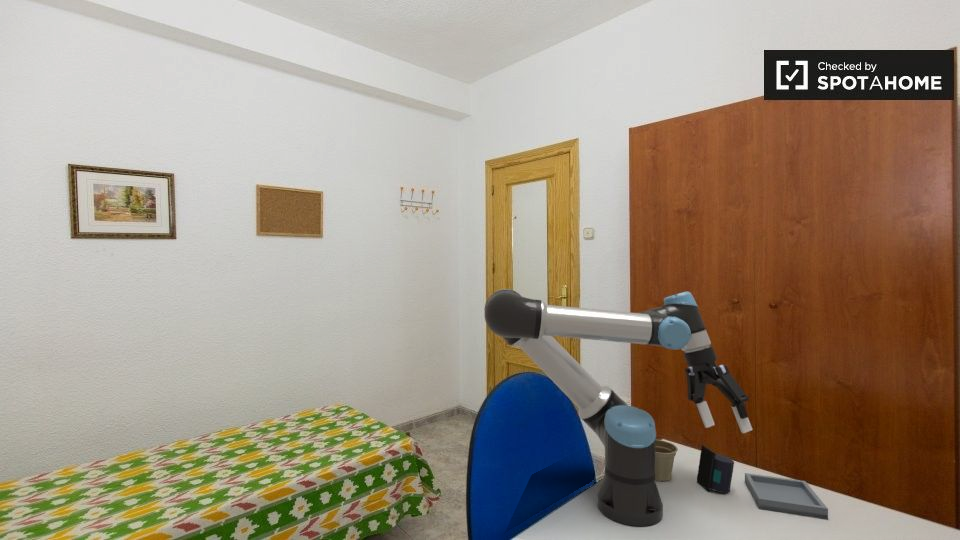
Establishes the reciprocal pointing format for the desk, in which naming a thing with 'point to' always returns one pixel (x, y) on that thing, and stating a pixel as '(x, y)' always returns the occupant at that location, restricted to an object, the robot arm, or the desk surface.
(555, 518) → the desk surface
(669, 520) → the desk surface
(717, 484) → the dark cylinder with plate
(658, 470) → the flower pot
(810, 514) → the tray
